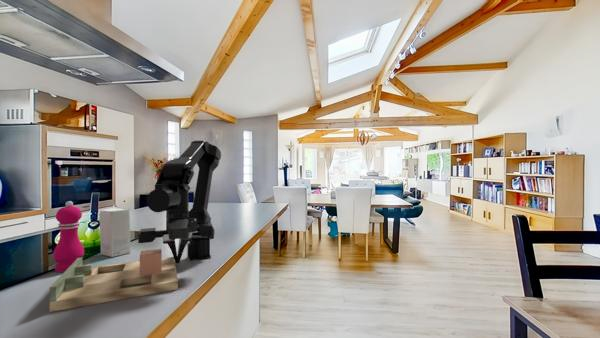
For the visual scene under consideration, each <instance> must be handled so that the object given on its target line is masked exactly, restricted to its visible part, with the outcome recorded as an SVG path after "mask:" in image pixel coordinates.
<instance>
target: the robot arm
mask: <svg viewBox="0 0 600 338" xmlns="http://www.w3.org/2000/svg"><path fill="white" fill-rule="evenodd" d="M221 158H222V152H221V150H220V149H219V147H218V146H217V145H214V144H211V143H209V141H207V140H193V141H191V142H190V145H189V146H188V147H187V148H186V149H185V150H184V152H182V154H181V155H180V156H179V157H177V158H173V159H170V160H169V161H167V162H165V163H164V164H163V166H162V168H161V170H160V172H159V174H158V177H157V180H156V181H155V182H156V183H155V184H154V189H153V190H151V191H150V192H149V194H148V195H147V197H146V204H147V207H148V208H149V210H150V211H152V212H154V213H162V212H165V219H166V220H165V229H162V230H156V227H149V228H145V227H144V228H141V229H140V230H139V231H138V238H137V240H138V241H137V243H138V244H146V243H153V242H154V240H156V239H157V238H161V239H162V243H163V244H166V245H167V246H168V247H169V249H170V251H171V255H172V257H174V261H175V265H178V264H180V262H181V260H182V256H183V253H184V250H185V248H186V247H187V248H186V256H187V258H188V259H189V260H190V261H198V260H205V259H211V258H212V255H211V243H210V242H211V240H213V239H214V238H215V228H214V226H213V224H212V221H211V220H212V218H211V215H210V214H209V211H208V206H209V200H210V193H211V187H212V186H211V185H212V179H213V174H214V173H213V172H214V171H215V170H216V169H217V168H218V167H219V164H220V160H221ZM196 165H197V166H198V173H197V179H196V186H195V191H194V196H193V202H192V207H191V208H190V210H189V191H191V187H190V184H191V181H192V179H193V177H194V175H195V170H194V167H195V166H196ZM178 239H179V240H178ZM176 240H178V247H177V245H176Z"/></svg>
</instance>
